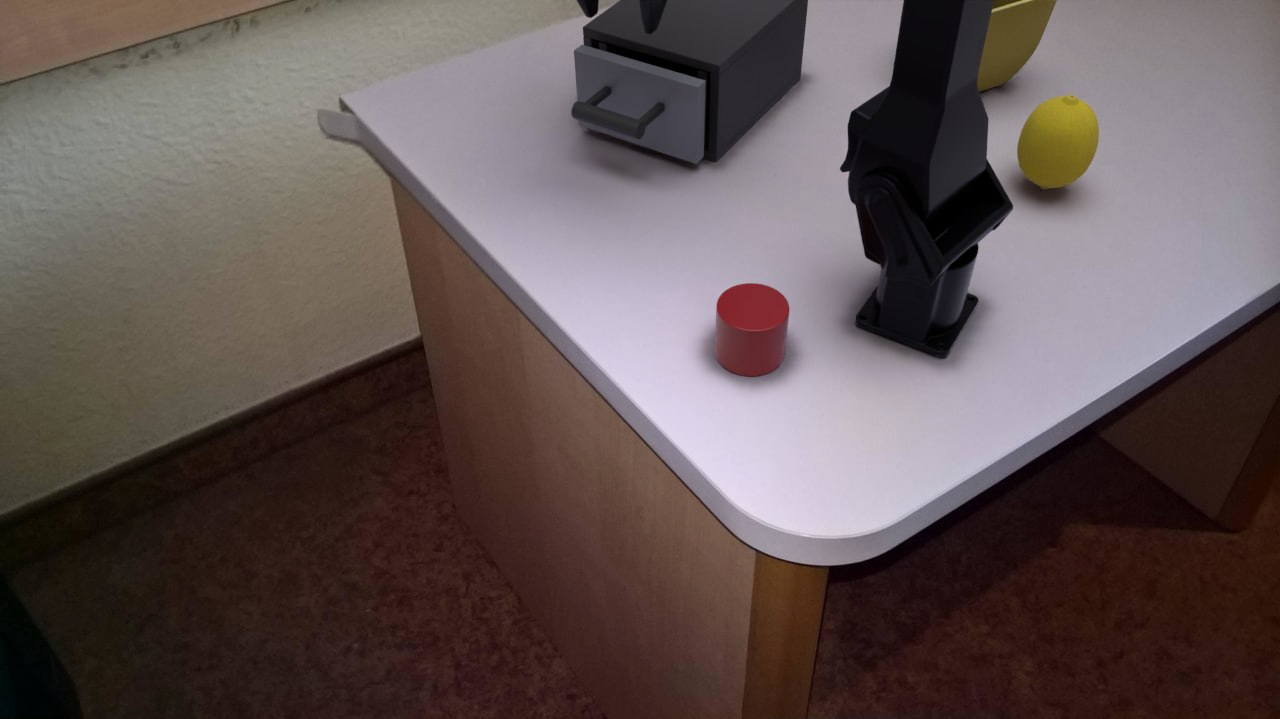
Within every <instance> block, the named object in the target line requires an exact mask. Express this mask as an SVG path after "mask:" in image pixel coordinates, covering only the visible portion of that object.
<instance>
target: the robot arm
mask: <svg viewBox="0 0 1280 719" xmlns="http://www.w3.org/2000/svg"><path fill="white" fill-rule="evenodd" d="M576 2H577V4H578V5H579V8H580V9H581V11H582V12H583V14H584V16H585V17H586V18H588V19H592V18H593V17H595V16H596V15H598V13H599V6H600V4H599V2H600V0H576ZM666 3H667V0H639V4H640V12H641V19H642V23H643V26H644V30H645V33H646V34H652V33H653V32H654V31H656V29H657V28H658V25H659V22H660V20H661V17H662V14H663V11H664V9H665V6H666ZM993 3H994V0H903V3H902V9H901V16H900V22H899V29H898V33H897V34H898V36H897V42H896V46H895V47H896V49H895V55H894V61H893V66H892V74H891V79H890V83H889V86H887V87H886V88H884V89H882V90H881V91H880V92H878V93H877V94H875V95H874V96H873V97H871V98H869V99H868V100H866V101H865V102H863V103H861V105H859V106H857V107H856V108H854V109H853V110H851V112H850V114H849V118H848V122H847V150H846V155H845V159H844V160H843V162H842V164H841V165H840V167H839V170H840V171H839V172H841V173H848V172H849V173H848V177H847V192H848V195H849V196H848V197H849V200H850V202H851V203H852V204H853V205H855V210H856V216H857V222H858V228H859V232H860V238H861V243H862V248H863V253H864V256H865V258H866V259H867V260H869V261H871V262H872V263H875V264H877V265H879V266H880V272H879V278H878V283H877V286H875V288H874V289H873V291H872V293H871V294H870V296H869V297H868V298H867V300H866V301H865V302H864V304H863V305H862V307H861V308H860V309H859V311H858V312H857V314H855V315H856V316H855V320H854V324H855V325H856V326H858V327H860V328H862V329H865V330H867V331H870V332H873V333H876V334H878V335H881V336H884V337H886V338H889V339H892V340H894V341H896V342H900V343H902V344H904V345H908V346H909V347H913V348H915V349H918V350H921V351H923V352H926V353H928V354H932V355H934V356H937V357H940V358H945V357H947V356H948V355H949V354H950V353H951V351H952V349H953V347H954V346H955V344H956V343H957V341H958V339H959V338H960V336H961V334H962V332H963V331H964V329H965V328H966V325H967V324H968V322H969V321H970V319H971V317H972V315H973V314H974V312H975V311H976V309H977V307H978V304H979V297H978V296H976V295H974V294H972V293H969V292H968V291H969V288H970V284H971V280H972V276H973V273H974V268H975V265H976V263H977V262H976V261H977V257H978V254H979V249H980V248H979V247H980V246H979V243H980V242H981V241H982V240H983V239H984V238H986V236H988V235H989V234H990V233H991V232H993V231H995V230H996V229H998V228H999V227H1000V226H1001V225H1002V224H1003V222H1004V221H1005V220H1006V219H1007V218H1008V216H1009V215H1010V214H1011V213H1012V212H1013V210H1014V205H1013V202H1012V201H1011V199H1010V197H1009V195H1008V194H1007V191H1006V190H1005V189H1004V186H1003V184H1002V183H1001V181H1000V179H999V178H998V175H997V174H996V172H995V170H994V169H993V166H992V165H991V163H990V162H989V160H988V158H987V157H988V139H989V138H988V137H989V116H988V113H987V110H986V107H985V105H984V102H983V99H982V96H981V92H979V90H978V86H977V79H978V72H979V68H980V63H981V58H982V54H983V49H984V45H985V40H986V35H987V31H988V26H989V21H990V17H991V12H992V8H993Z"/></svg>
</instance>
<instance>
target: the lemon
mask: <svg viewBox="0 0 1280 719" xmlns="http://www.w3.org/2000/svg"><path fill="white" fill-rule="evenodd" d="M1099 136H1100V127H1099V119H1098V117H1097V115H1096V113H1095V111H1094V110H1093V108H1092V107H1091V106H1090V105H1089V104H1088V103H1087V102H1085V101H1084V100H1082V99H1080V98H1077V96H1076V95H1074V94H1068V95H1060V96H1055V97H1052V98H1048V99H1047V100H1045V101H1043V102H1042V103H1039V105H1038V106H1037V107H1035V108H1034V110H1032V112H1031V113H1030V115H1029V116H1028V117H1027V119H1026V121H1025V122H1024V124H1023V126H1022V129H1021V130H1020V134H1019V138H1018V141H1017V148H1016V155H1017V156H1016V157H1017V161H1018V166H1019V169H1020V170H1021V172H1022V173H1023V175H1024V176H1025V178H1027V179H1028V180H1029V181H1030V182H1031V183H1033V184H1035V185H1037V186H1038V187H1039V188H1040V189H1041V190H1049V189H1057V188H1064V187H1066V186H1068V185H1070V184H1073V183H1075V182H1076V181H1077V180H1079V179H1080V178H1081V177H1082V176H1083V175H1084V174H1085V173H1086V172H1087V170H1088V169H1089V167H1090V166H1091V164H1092V162H1093V160H1094V157H1095V156H1096V152H1097V149H1098V145H1099V140H1100V139H1099Z"/></svg>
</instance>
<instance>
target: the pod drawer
mask: <svg viewBox="0 0 1280 719" xmlns="http://www.w3.org/2000/svg"><path fill="white" fill-rule="evenodd" d="M573 60H574V73H575V86H576V97H577V98H576V100H577V101H575V102H574V103H573V105H572V107H571V110H570V112H571V113H570V114H571V117H572V118H573V119H574V120H576V121H578V125H579V126H581V127H584V128H587V129H589V130H592V131H596V132H598V133H602V134H604V135H608V136H610V137H614V138H617V139H620V140H623V141H626V142H629V143H632V144H634V145H637V146H641V147H644V148H647V149H650V150H652V151H656V152H659V153H663V154H665V155H669V156H671V157H675V158H677V159H681V160H684V161H686V162H689V163H692V164H698V163H699V162H700V161H701V160H702V159H704V158H703V157H704V143H705V142H706V141H707V140H708V139H709V109H710V75H711V72H707V71H704V70H701V69H697V68H694V67H690V66H687V65H683V64H680V63H676V62H673V61H669V60H666V59H662V58H659V57H655V56H652V55H648V54H645V53H641V52H638V51H634V50H631V49H627V48H624V47H620V46H617V45H614V44H610V43H607V42H603V41H600V42H599V49H596V48H592V47H589V46H585V45H584V44H581V45H580V46H578V47H577V48H575V49H574V50H573Z"/></svg>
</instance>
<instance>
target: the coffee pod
mask: <svg viewBox="0 0 1280 719" xmlns="http://www.w3.org/2000/svg"><path fill="white" fill-rule="evenodd" d="M715 306H716V307H715V328H714V329H715V330H714V331H715V332H714V355H715V358H716V360H717V362H718V363H719V364H720V365H721V366H722V367H723V368H725V370H727V371H729V372H731V373H733V374H736V375H739V376H744V377H759V376H764V375H766V374H770V373H771V372H773V371H775V370H776V369H777V368H779V367H780V365H781V364H782V363H783V361H784V359H785V356H786V346H787V337H788V327H789V319H790V304H789V302H788V300H787V298H786V297H785V295H784V294H783V293H782V292H780V291H779V290H777V289H776V288H775V287H771V286H769V285H767V284H762V283H754V282H749V283H748V282H747V283H740V284H737V285H733V286H731V287H728V288H727V289H726V290H724V291H723V292H722V293H721V294H720V296H719V297H718V299H717V301H716V305H715Z"/></svg>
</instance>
